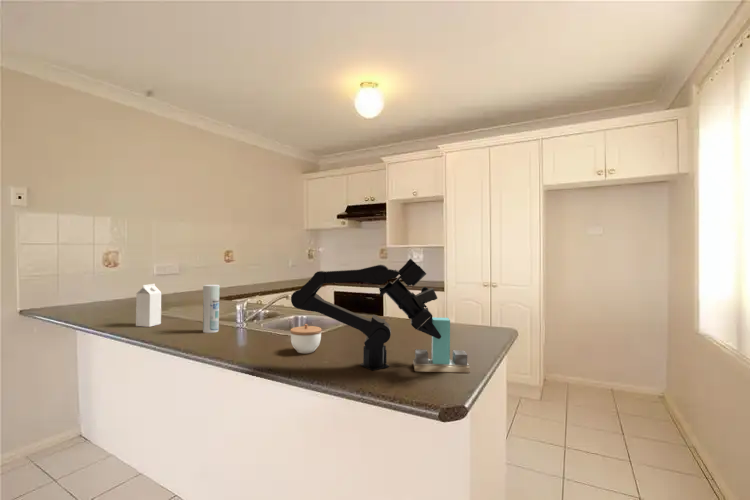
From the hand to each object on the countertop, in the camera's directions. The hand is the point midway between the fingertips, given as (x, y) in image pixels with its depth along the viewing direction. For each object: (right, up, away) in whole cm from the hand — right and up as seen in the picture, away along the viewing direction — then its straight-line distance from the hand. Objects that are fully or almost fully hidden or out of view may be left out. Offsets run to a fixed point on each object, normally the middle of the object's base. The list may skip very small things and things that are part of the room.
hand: (438, 334), depth 112 cm
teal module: (+1, -8, 0) cm, 8 cm away
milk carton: (-124, -10, +59) cm, 138 cm away
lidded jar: (-43, -10, +18) cm, 48 cm away
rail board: (+1, -10, 0) cm, 10 cm away
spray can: (-90, -10, +48) cm, 102 cm away
